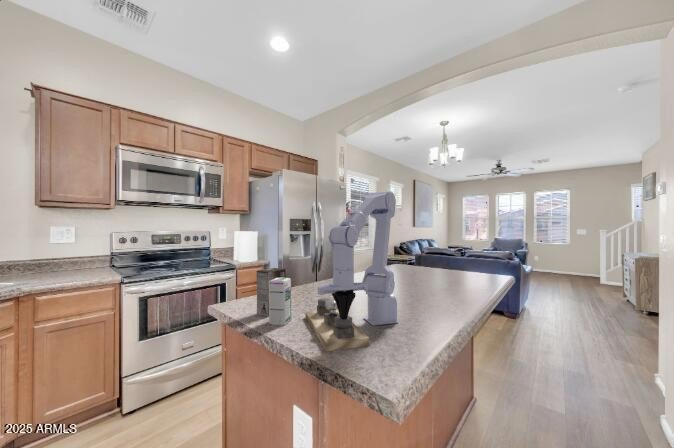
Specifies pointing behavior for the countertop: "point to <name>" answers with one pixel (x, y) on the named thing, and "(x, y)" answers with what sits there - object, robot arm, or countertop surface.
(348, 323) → the knob
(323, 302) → the knob
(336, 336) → the mount board
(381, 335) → the countertop surface
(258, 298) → the coffee box
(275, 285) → the syrup box
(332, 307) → the knob middle
